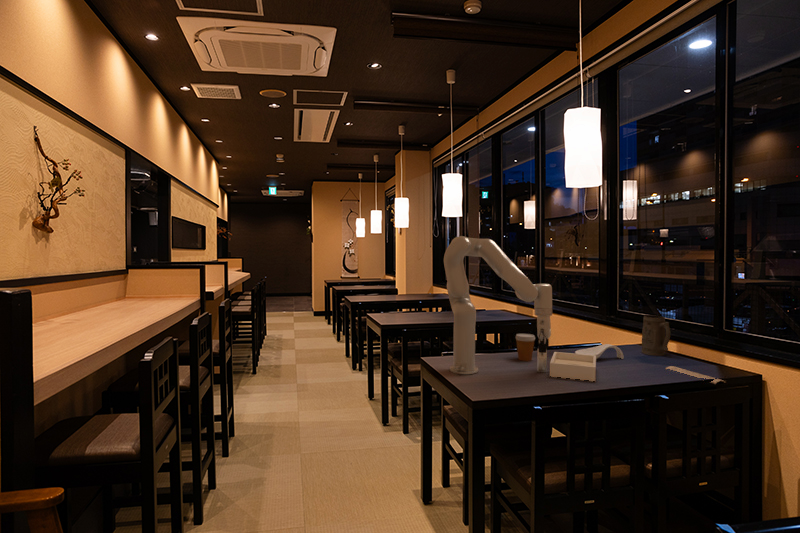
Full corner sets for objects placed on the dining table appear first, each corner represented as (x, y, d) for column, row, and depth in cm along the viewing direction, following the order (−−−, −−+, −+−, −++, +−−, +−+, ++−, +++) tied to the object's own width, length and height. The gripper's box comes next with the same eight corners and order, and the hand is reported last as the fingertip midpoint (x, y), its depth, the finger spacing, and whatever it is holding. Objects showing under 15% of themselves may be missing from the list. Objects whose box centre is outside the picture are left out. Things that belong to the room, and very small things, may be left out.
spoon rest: (583, 363, 220) (583, 348, 220) (570, 357, 232) (570, 343, 232) (628, 361, 224) (628, 346, 224) (613, 355, 236) (613, 341, 235)
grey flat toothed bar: (665, 370, 210) (665, 366, 210) (677, 369, 212) (677, 365, 212) (715, 385, 187) (715, 381, 187) (728, 383, 190) (728, 379, 190)
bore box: (595, 381, 190) (595, 367, 190) (549, 376, 197) (549, 362, 197) (595, 368, 210) (595, 355, 210) (554, 364, 217) (554, 351, 217)
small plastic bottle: (546, 373, 202) (546, 350, 202) (536, 372, 204) (536, 349, 203) (546, 370, 206) (547, 348, 205) (537, 369, 208) (538, 347, 207)
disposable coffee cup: (537, 362, 221) (537, 337, 221) (517, 361, 222) (517, 337, 221) (532, 357, 231) (532, 333, 230) (513, 357, 231) (513, 333, 231)
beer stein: (635, 351, 242) (638, 314, 240) (649, 349, 247) (652, 313, 245) (662, 360, 229) (666, 321, 226) (676, 358, 233) (680, 319, 231)
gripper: (550, 315, 194) (550, 355, 195) (553, 309, 210) (554, 346, 211) (531, 314, 197) (532, 353, 198) (536, 308, 213) (537, 345, 214)
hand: (543, 349), depth 204 cm, fingers open, 9 cm apart
